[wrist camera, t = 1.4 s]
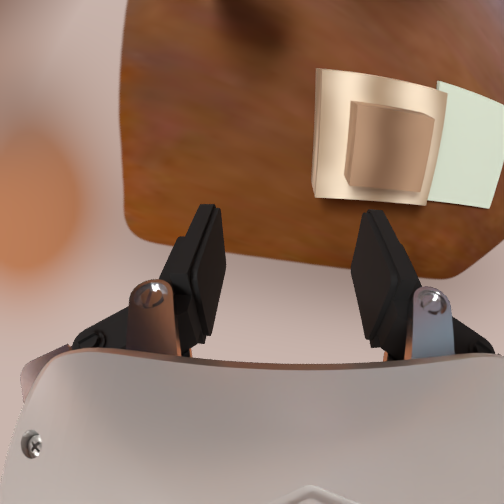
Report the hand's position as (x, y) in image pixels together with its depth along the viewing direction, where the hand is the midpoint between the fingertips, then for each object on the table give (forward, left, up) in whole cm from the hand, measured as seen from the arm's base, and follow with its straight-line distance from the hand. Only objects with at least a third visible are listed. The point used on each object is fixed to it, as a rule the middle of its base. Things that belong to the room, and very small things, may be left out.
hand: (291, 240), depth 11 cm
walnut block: (-9, 0, -14) cm, 17 cm away
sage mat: (-22, 0, -19) cm, 29 cm away
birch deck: (-9, 0, -19) cm, 21 cm away
